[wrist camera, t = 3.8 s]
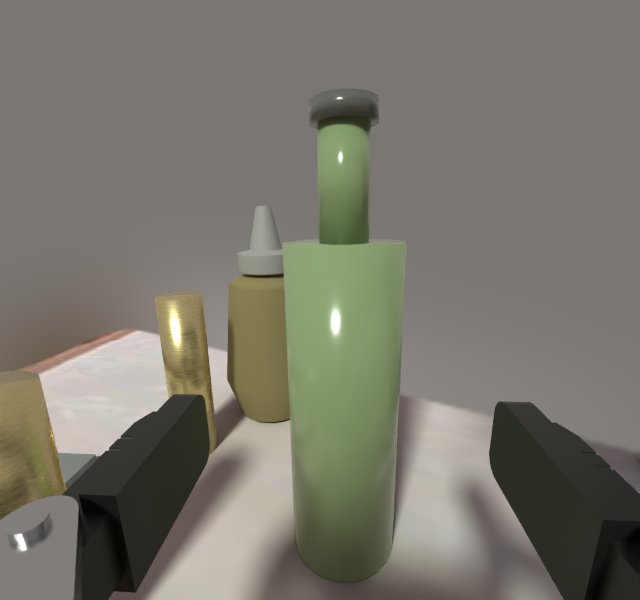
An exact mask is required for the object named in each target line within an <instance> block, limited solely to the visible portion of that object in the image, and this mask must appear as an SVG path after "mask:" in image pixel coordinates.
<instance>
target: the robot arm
mask: <svg viewBox="0 0 640 600" xmlns="http://www.w3.org/2000/svg"><path fill="white" fill-rule="evenodd" d="M209 451H210V438H209V429H208V420H207V412H206V403H205V399H204V397H203V395H200V394H174V395H172V396H171V397H170V398H169V399H168V400H167V401H166V402H165V404H164V405H163V406H162V407H161V408H160V409H159V410H158V411H157V412H152V413H150V414H148V415H147V416H145V417H143V418H142V419H140V420H138V421H137V422H135V423H134V424H133V425H132V426H131V427H130V428H129V429H128V430H127V431H126V432H125V433H124V434H123V435H122V436H121V438H120V439H118V440H117V441H116V442H115V443H114V444H113V445H112V446H111V447H110V448H109V451H105V452H104V453H103V454H102V455H101V456H100V457H99V458H98V459H97V460H96V461H95V462H94V463H93V464H92V465H91V466H90V467H89V468H88V469H87V470H86V471H85V472H84V473H83V474H82V475H81V476H80V477H79V478H78V479H77V480H76V481H75V482H74V483H73V484H72V485H71V486H70V487H69V488H68V489H67V490H66V491H65V492H64V493H63V494H62V495H58V496H50V497H46V498H42V499H39V500H36V501H33V502H31V503H28V504H26V505H24V506H22V507H20V508H18V509H17V510H15V511H13V512H11V513H10V514H8V515H7V516H5V517H4V518H3V519H1V520H0V600H108V599H109V598H110V596H111V594H112V593H113V591H120V592H135V593H136V591H137V589H138V587H139V586H140V584H141V582H142V580H143V578H144V577H145V575H146V573H147V571H148V569H149V568H150V566H151V564H152V562H153V560H154V558H155V557H156V555H157V553H158V551H159V549H160V548H161V546H162V544H163V542H164V540H165V539H166V537H167V535H168V533H169V531H170V529H171V528H172V526H173V524H174V522H175V520H176V519H177V517H178V515H179V513H180V511H181V510H182V508H183V506H184V504H185V502H186V500H187V499H188V497H189V495H190V493H191V491H192V490H193V488H194V486H195V484H196V482H197V481H198V479H199V477H200V475H201V473H202V471H203V470H204V468H205V466H206V463H207V461H208V457H209ZM489 457H490V465H491V469H492V472H493V475H494V477H495V479H496V481H497V483H498V485H499V486H500V488H501V490H502V492H503V493H504V495H505V497H506V499H507V501H508V502H509V504H510V506H511V508H512V509H513V511H514V513H515V515H516V516H517V518H518V520H519V522H520V523H521V525H522V527H523V529H524V530H525V532H526V534H527V536H528V537H529V539H530V541H531V543H532V544H533V546H534V548H535V550H536V551H537V553H538V555H539V557H540V558H541V560H542V562H543V564H544V565H545V567H546V569H547V571H548V572H549V574H550V576H551V578H552V580H553V581H554V583H555V585H556V587H557V588H558V590H559V592H560V594H561V595H562V597H563V599H564V600H640V494H639V493H638V492H637V491H636V490H635V489H634V488H633V487H632V486H631V485H630V484H628V483H627V482H626V481H625V480H624V479H623V478H622V477H621V476H620V475H619V474H618V473H617V472H616V471H615V470H611V468H610V466H609V465H608V464H607V463H606V462H605V461H604V460H603V459H602V458H601V457H600V456H598V455H596V453H595V451H594V450H593V449H592V448H590V447H589V446H588V445H587V444H586V443H585V442H584V441H583V440H582V439H581V438H580V437H579V436H577V435H576V434H574V433H572V432H571V431H569V430H567V429H565V428H564V427H562V426H561V425H559V424H557V423H552V422H551V421H550V420H549V419H547V417H546V416H545V415H544V414H543V413H542V412H541V411H540V410H539V409H538V408H537V407H536V406H535V405H534V404H532V403H530V402H498V403H497V405H496V407H495V412H494V420H493V428H492V436H491V444H490V452H489ZM639 460H640V454H639Z"/></svg>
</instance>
